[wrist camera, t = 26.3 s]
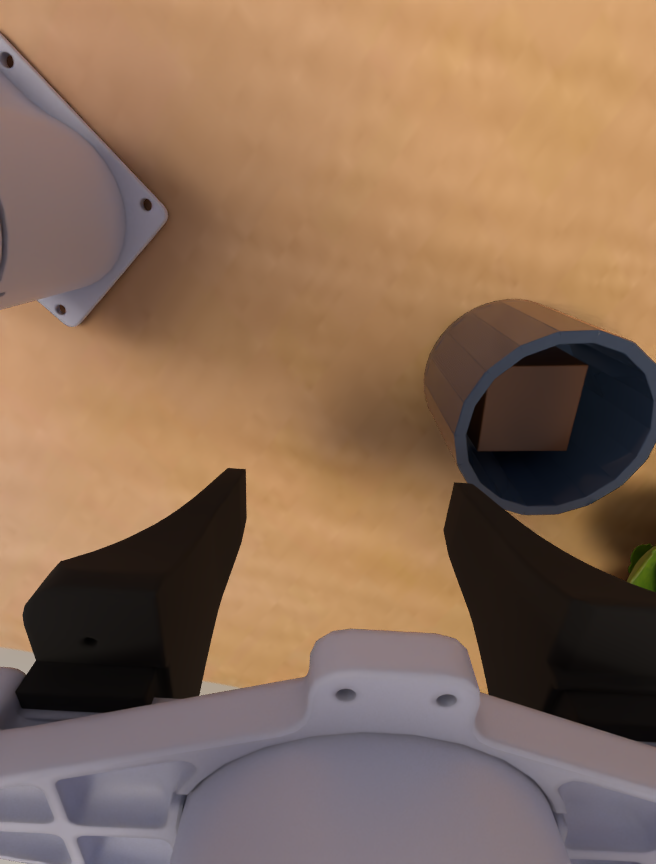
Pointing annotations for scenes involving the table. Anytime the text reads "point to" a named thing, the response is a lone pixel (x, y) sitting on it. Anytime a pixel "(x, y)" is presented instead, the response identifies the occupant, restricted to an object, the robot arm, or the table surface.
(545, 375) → the block
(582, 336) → the cup
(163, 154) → the table surface
